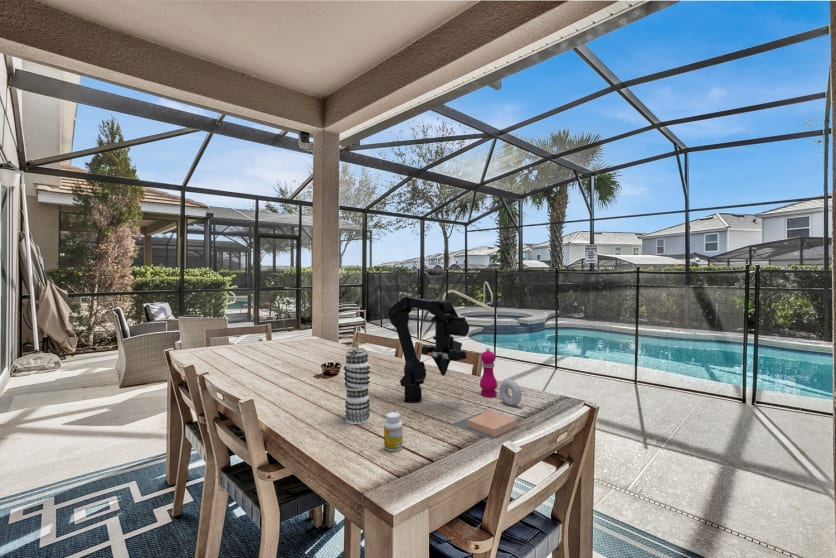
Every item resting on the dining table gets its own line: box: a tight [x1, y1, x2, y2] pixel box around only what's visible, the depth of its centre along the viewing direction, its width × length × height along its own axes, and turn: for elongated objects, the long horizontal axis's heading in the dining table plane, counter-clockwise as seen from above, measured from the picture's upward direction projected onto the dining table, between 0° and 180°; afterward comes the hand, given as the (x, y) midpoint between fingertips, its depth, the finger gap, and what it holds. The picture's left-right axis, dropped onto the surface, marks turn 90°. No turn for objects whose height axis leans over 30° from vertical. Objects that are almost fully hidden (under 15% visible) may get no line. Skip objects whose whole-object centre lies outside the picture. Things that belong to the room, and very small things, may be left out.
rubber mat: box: [452, 412, 521, 441], centre depth 126 cm, size 17×15×1 cm
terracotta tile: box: [467, 410, 518, 438], centre depth 124 cm, size 3×12×11 cm
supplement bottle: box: [383, 411, 404, 452], centre depth 111 cm, size 5×5×10 cm
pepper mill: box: [479, 347, 498, 398], centre depth 159 cm, size 7×7×20 cm
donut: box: [499, 378, 523, 407], centre depth 146 cm, size 10×4×10 cm, turn 34°
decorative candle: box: [343, 347, 371, 425], centre depth 133 cm, size 9×9×25 cm
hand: (443, 375), depth 142 cm, fingers closed
